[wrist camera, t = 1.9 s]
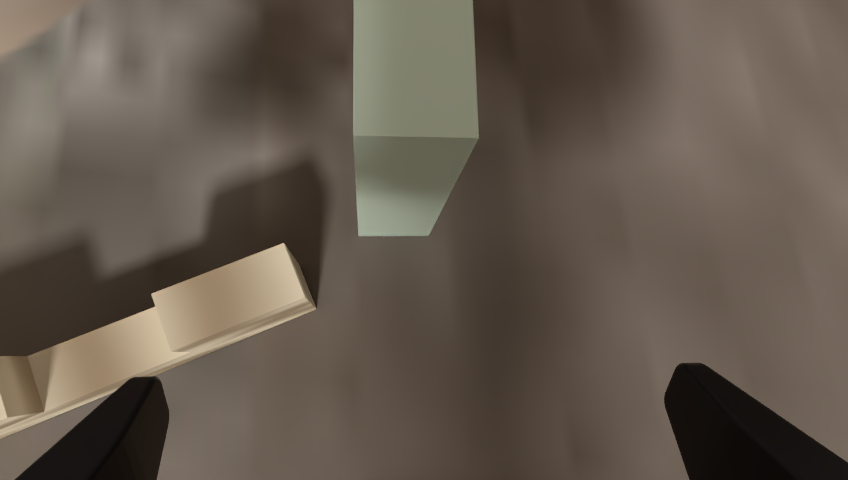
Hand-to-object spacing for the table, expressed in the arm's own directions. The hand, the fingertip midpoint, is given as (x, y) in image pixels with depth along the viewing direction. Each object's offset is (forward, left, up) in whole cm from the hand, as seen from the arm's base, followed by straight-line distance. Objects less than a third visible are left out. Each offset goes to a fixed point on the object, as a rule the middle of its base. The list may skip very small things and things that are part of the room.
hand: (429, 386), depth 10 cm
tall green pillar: (+7, -5, -13) cm, 16 cm away
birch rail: (+6, +8, -13) cm, 17 cm away
